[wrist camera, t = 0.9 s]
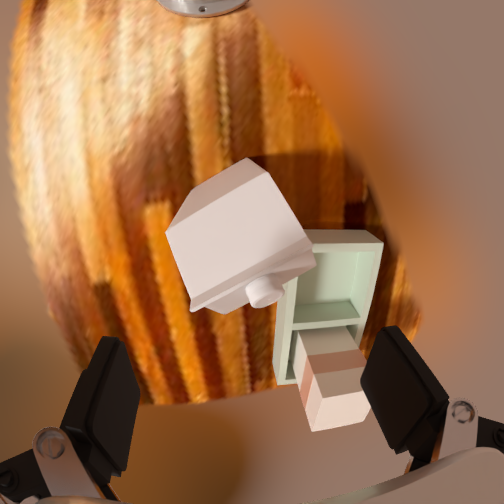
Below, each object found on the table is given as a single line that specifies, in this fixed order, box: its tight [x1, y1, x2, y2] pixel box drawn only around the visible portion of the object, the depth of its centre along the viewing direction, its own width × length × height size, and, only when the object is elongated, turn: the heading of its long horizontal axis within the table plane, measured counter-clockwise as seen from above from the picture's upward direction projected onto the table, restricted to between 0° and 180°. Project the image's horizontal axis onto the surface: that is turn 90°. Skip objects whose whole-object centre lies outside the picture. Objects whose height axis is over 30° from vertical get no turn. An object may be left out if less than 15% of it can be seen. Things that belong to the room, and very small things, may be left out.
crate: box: [273, 229, 384, 385], centre depth 36 cm, size 21×11×5 cm, turn 179°
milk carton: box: [165, 158, 317, 314], centre depth 23 cm, size 7×7×19 cm
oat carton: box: [289, 326, 371, 432], centre depth 33 cm, size 7×7×14 cm
